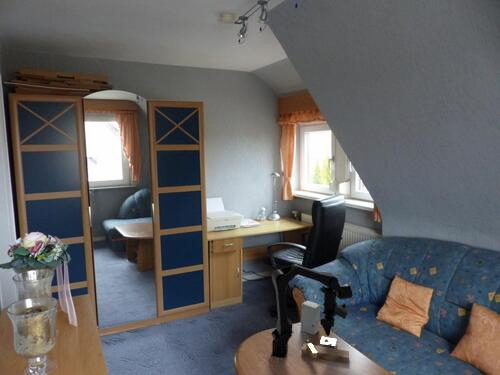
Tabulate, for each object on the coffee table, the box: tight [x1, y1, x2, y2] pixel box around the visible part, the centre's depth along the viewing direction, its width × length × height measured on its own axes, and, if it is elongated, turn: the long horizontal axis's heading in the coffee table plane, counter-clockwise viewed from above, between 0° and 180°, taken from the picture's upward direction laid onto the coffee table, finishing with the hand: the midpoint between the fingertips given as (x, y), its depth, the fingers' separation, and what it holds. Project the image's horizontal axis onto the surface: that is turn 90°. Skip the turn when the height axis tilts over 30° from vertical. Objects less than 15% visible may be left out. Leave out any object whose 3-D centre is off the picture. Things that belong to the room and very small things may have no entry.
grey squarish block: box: [319, 336, 338, 349], centre depth 177 cm, size 7×6×4 cm
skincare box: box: [300, 300, 322, 336], centre depth 193 cm, size 8×6×15 cm
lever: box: [304, 338, 318, 359], centre depth 168 cm, size 11×3×3 cm, turn 11°
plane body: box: [300, 342, 350, 365], centre depth 170 cm, size 21×6×3 cm, turn 71°
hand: (329, 331), depth 177 cm, fingers open, 9 cm apart
